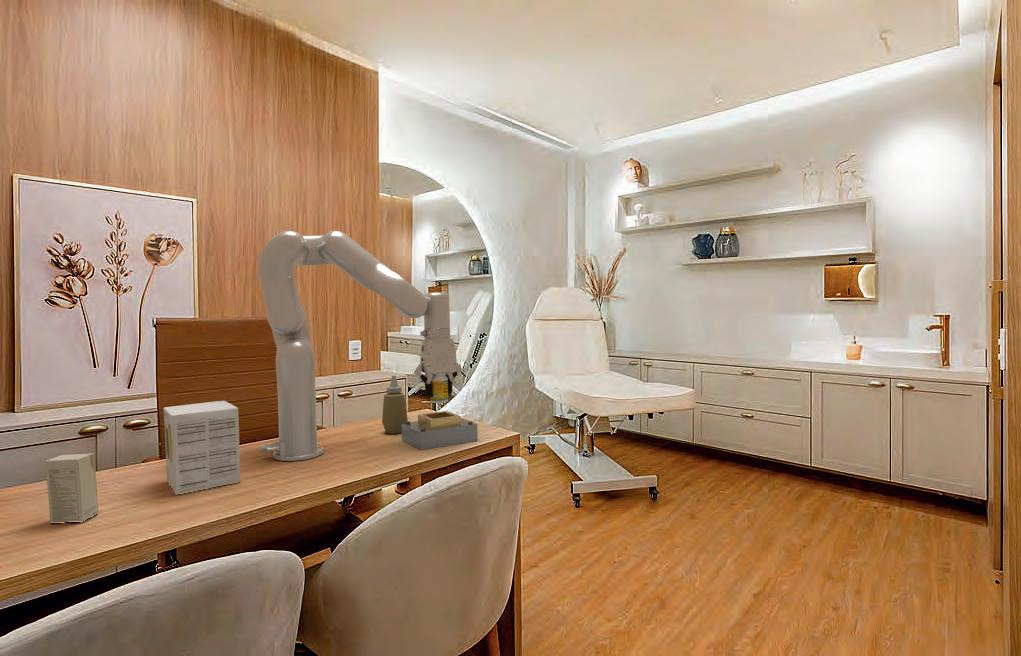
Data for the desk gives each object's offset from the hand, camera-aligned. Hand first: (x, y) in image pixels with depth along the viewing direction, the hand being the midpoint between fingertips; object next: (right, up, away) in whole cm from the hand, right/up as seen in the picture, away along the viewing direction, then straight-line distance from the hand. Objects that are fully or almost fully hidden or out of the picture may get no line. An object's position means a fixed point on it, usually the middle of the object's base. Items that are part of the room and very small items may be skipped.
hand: (439, 395), depth 158 cm
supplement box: (-50, -16, -35) cm, 63 cm away
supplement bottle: (0, -2, 0) cm, 2 cm away
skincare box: (-62, -17, -56) cm, 85 cm away
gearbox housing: (0, -13, 0) cm, 13 cm away
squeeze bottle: (-16, -13, +12) cm, 24 cm away
